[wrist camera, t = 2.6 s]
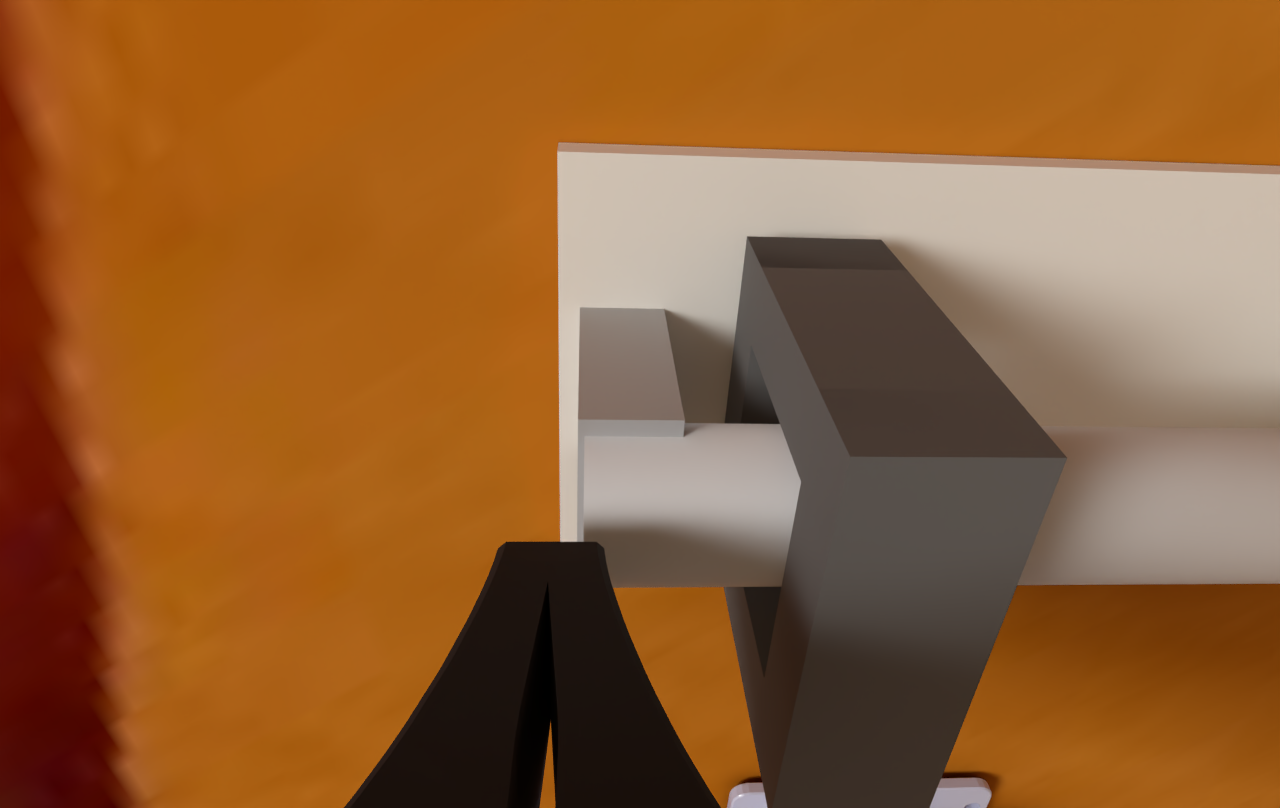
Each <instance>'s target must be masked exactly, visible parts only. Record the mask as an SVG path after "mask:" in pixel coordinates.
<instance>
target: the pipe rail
mask: <svg viewBox="0 0 1280 808" xmlns="http://www.w3.org/2000/svg"><path fill="white" fill-rule="evenodd" d="M747 236H756V237H796V238H836V239H876V240H882V241H883V242H884V243H885V245H886V246H887V247H888V248H889V249H890V250H891V252H892V253H893V254H894V255H895V256H896V257H897V259H898V260H899V261H900V262H901V263H902V265H903V266H904V267H905V268H906V269H907V270H908V272H909V273H910V274H911V275H912V276H913V277H914V279H915V280H916V281H917V282H918V283H919V284H920V286H921V287H922V288H923V289H924V290H925V291H926V293H927V294H928V295H929V296H930V297H931V299H932V300H933V301H934V302H935V303H936V304H937V306H938V307H939V308H940V309H941V310H942V311H943V313H944V314H945V315H946V316H947V317H948V318H949V320H950V321H951V322H952V323H953V324H954V326H955V327H956V328H957V329H958V330H959V331H960V333H961V334H962V335H963V336H964V337H965V338H966V340H967V341H968V342H969V343H970V344H971V345H972V347H973V348H974V349H975V350H976V351H977V352H978V354H979V355H980V356H981V357H982V358H983V360H984V361H985V362H986V363H987V364H988V365H989V367H990V368H991V369H992V370H993V371H994V372H995V374H996V375H997V376H998V377H999V378H1000V379H1001V381H1002V382H1003V383H1004V384H1005V385H1006V386H1007V388H1008V389H1009V390H1010V391H1011V392H1012V394H1013V395H1014V396H1015V397H1016V398H1017V399H1018V401H1019V402H1020V403H1021V404H1022V405H1023V406H1024V408H1025V409H1026V410H1027V411H1028V412H1029V413H1030V415H1031V416H1032V417H1033V418H1034V419H1035V421H1036V422H1037V423H1038V424H1039V425H1040V426H1041V428H1042V429H1043V430H1044V431H1045V432H1046V433H1047V435H1048V436H1049V437H1050V438H1051V439H1052V440H1053V442H1054V443H1055V444H1056V445H1057V446H1058V447H1059V449H1060V450H1061V451H1062V452H1063V453H1064V455H1065V456H1066V457H1067V460H1066V463H1065V465H1064V468H1063V470H1062V473H1061V475H1060V478H1059V480H1058V483H1057V485H1056V488H1055V491H1054V493H1053V496H1052V498H1051V501H1050V503H1049V506H1048V508H1047V511H1046V513H1045V516H1044V518H1043V521H1042V524H1041V526H1040V529H1039V531H1038V534H1037V536H1036V539H1035V541H1034V544H1033V546H1032V549H1031V551H1030V554H1029V557H1028V559H1027V562H1026V564H1025V567H1024V569H1023V572H1022V574H1021V577H1020V579H1019V582H1018V584H1017V585H1126V584H1280V166H1267V165H1236V164H1205V163H1174V162H1144V161H1113V160H1082V159H1052V158H1021V157H990V156H959V155H929V154H898V153H867V152H836V151H806V150H775V149H744V148H714V147H683V146H652V145H621V144H591V143H560V142H559V143H558V289H559V431H560V542H598V543H599V544H600V545H601V546H602V547H603V548H604V549H605V557H606V563H607V567H608V572H609V576H610V580H611V583H612V587H613V588H619V587H781V586H782V581H783V576H784V570H785V565H786V560H787V554H788V549H789V544H790V538H791V533H792V528H793V522H794V517H795V512H796V506H797V501H798V496H799V490H800V485H801V480H800V477H799V475H798V472H797V469H796V466H795V464H794V461H793V458H792V455H791V453H790V450H789V447H788V445H787V442H786V439H785V436H784V434H783V431H782V428H781V425H780V424H725V415H726V407H727V399H728V390H729V382H730V374H731V365H732V357H733V349H734V340H735V332H736V324H737V315H738V307H739V299H740V290H741V282H742V273H743V265H744V257H745V248H746V240H747Z"/></svg>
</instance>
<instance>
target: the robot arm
mask: <svg viewBox="0 0 1280 808" xmlns="http://www.w3.org/2000/svg"><path fill="white" fill-rule="evenodd" d="M550 722H551V730H552V747H553V765H554V783H555V801H556V807H555V808H721V807H720V806H719V804H718V803H717V801H716V799H715V798H714V796H713V795H712V793H711V792H710V790H709V789H708V787H707V785H706V784H705V782H704V780H703V779H702V777H701V775H700V774H699V772H698V770H697V769H696V767H695V765H694V764H693V762H692V760H691V759H690V757H689V755H688V753H687V752H686V750H685V748H684V746H683V745H682V743H681V741H680V739H679V737H678V736H677V734H676V732H675V730H674V728H673V726H672V725H671V723H670V721H669V719H668V717H667V715H666V713H665V711H664V709H663V707H662V705H661V703H660V701H659V699H658V697H657V695H656V693H655V691H654V689H653V687H652V685H651V683H650V681H649V679H648V676H647V674H646V672H645V670H644V668H643V665H642V663H641V661H640V658H639V656H638V654H637V651H636V649H635V647H634V644H633V642H632V640H631V637H630V635H629V633H628V630H627V627H626V625H625V622H624V620H623V617H622V614H621V611H620V608H619V605H618V602H617V600H616V597H615V593H614V590H613V587H612V583H611V580H610V576H609V572H608V567H607V563H606V557H605V549H604V548H603V547H602V546H601V545H600V544H599V543H598V542H506V543H504V544H503V545H502V546H501V547H499V548H498V550H497V553H496V557H495V560H494V562H493V565H492V568H491V570H490V573H489V575H488V577H487V580H486V582H485V584H484V587H483V589H482V591H481V593H480V595H479V597H478V599H477V601H476V603H475V605H474V608H473V610H472V612H471V614H470V616H469V618H468V620H467V622H466V623H465V625H464V627H463V629H462V631H461V632H460V634H459V636H458V638H457V640H456V642H455V643H454V645H453V647H452V649H451V651H450V652H449V654H448V656H447V658H446V660H445V661H444V663H443V665H442V667H441V668H440V670H439V672H438V673H437V675H436V677H435V678H434V680H433V681H432V683H431V684H430V686H429V688H428V689H427V691H426V692H425V694H424V696H423V697H422V699H421V700H420V702H419V703H418V705H417V707H416V708H415V710H414V711H413V713H412V714H411V716H410V718H409V719H408V721H407V722H406V724H405V725H404V727H403V728H402V730H401V731H400V733H399V734H398V736H397V737H396V738H395V740H394V741H393V743H392V744H391V746H390V747H389V749H388V750H387V751H386V753H385V754H384V756H383V757H382V758H381V760H380V761H379V762H378V764H377V765H376V767H375V768H374V769H373V771H372V772H371V773H370V775H369V776H368V777H367V779H366V780H365V781H364V783H363V784H362V785H361V787H360V788H359V789H358V791H357V792H356V793H355V795H354V796H353V797H352V798H351V800H350V801H349V802H348V803H347V805H346V806H345V807H344V808H539V806H540V798H541V791H542V783H543V776H544V768H545V760H546V753H547V745H548V737H549V729H550ZM991 796H992V792H991V790H990V788H989V785H988V783H987V782H986V780H983V779H981V778H975V777H972V778H941V780H940V782H939V785H938V787H937V790H936V793H935V795H934V798H933V800H932V803H931V805H930V808H986V807H987V805H988V803H989V801H990V799H991ZM727 808H767V803H766V798H765V793H764V788H763V783H762V782H756V783H742V784H739V785H737V786H735V787H734V788H733V789H732V790H731V792H730V794H729V800H728V806H727Z"/></svg>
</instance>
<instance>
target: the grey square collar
mask: <svg viewBox="0 0 1280 808" xmlns="http://www.w3.org/2000/svg"><path fill="white" fill-rule="evenodd" d="M725 424H780V425H781V428H782V431H783V434H784V436H785V439H786V442H787V445H788V447H789V450H790V453H791V455H792V458H793V461H794V464H795V466H796V469H797V472H798V475H799V477H800V480H801V485H800V490H799V496H798V501H797V506H796V512H795V517H794V522H793V528H792V533H791V538H790V544H789V549H788V554H787V560H786V565H785V570H784V576H783V581H782V586H781V587H724V590H725V595H726V601H727V606H728V611H729V616H730V621H731V626H732V631H733V636H734V641H735V646H736V651H737V656H738V661H739V666H740V671H741V676H742V682H743V687H744V692H745V697H746V702H747V707H748V712H749V717H750V722H751V727H752V732H753V737H754V742H755V747H756V752H757V757H758V762H759V768H760V773H761V778H762V783H763V788H764V793H765V798H766V803H767V808H930V805H931V803H932V800H933V798H934V795H935V793H936V790H937V787H938V785H939V782H940V780H941V777H942V775H943V772H944V770H945V767H946V765H947V762H948V760H949V757H950V754H951V752H952V749H953V747H954V744H955V742H956V739H957V737H958V734H959V732H960V729H961V727H962V724H963V721H964V719H965V716H966V714H967V711H968V709H969V706H970V704H971V701H972V699H973V696H974V694H975V691H976V689H977V686H978V683H979V681H980V678H981V676H982V673H983V671H984V668H985V666H986V663H987V661H988V658H989V656H990V653H991V650H992V648H993V645H994V643H995V640H996V638H997V635H998V633H999V630H1000V628H1001V625H1002V623H1003V620H1004V617H1005V615H1006V612H1007V610H1008V607H1009V605H1010V602H1011V600H1012V597H1013V595H1014V592H1015V590H1016V587H1017V584H1018V582H1019V579H1020V577H1021V574H1022V572H1023V569H1024V567H1025V564H1026V562H1027V559H1028V557H1029V554H1030V551H1031V549H1032V546H1033V544H1034V541H1035V539H1036V536H1037V534H1038V531H1039V529H1040V526H1041V524H1042V521H1043V518H1044V516H1045V513H1046V511H1047V508H1048V506H1049V503H1050V501H1051V498H1052V496H1053V493H1054V491H1055V488H1056V485H1057V483H1058V480H1059V478H1060V475H1061V473H1062V470H1063V468H1064V465H1065V463H1066V460H1067V457H1066V456H1065V455H1064V453H1063V452H1062V451H1061V450H1060V449H1059V447H1058V446H1057V445H1056V444H1055V443H1054V442H1053V440H1052V439H1051V438H1050V437H1049V436H1048V435H1047V433H1046V432H1045V431H1044V430H1043V429H1042V428H1041V426H1040V425H1039V424H1038V423H1037V422H1036V421H1035V419H1034V418H1033V417H1032V416H1031V415H1030V413H1029V412H1028V411H1027V410H1026V409H1025V408H1024V406H1023V405H1022V404H1021V403H1020V402H1019V401H1018V399H1017V398H1016V397H1015V396H1014V395H1013V394H1012V392H1011V391H1010V390H1009V389H1008V388H1007V386H1006V385H1005V384H1004V383H1003V382H1002V381H1001V379H1000V378H999V377H998V376H997V375H996V374H995V372H994V371H993V370H992V369H991V368H990V367H989V365H988V364H987V363H986V362H985V361H984V360H983V358H982V357H981V356H980V355H979V354H978V352H977V351H976V350H975V349H974V348H973V347H972V345H971V344H970V343H969V342H968V341H967V340H966V338H965V337H964V336H963V335H962V334H961V333H960V331H959V330H958V329H957V328H956V327H955V326H954V324H953V323H952V322H951V321H950V320H949V318H948V317H947V316H946V315H945V314H944V313H943V311H942V310H941V309H940V308H939V307H938V306H937V304H936V303H935V302H934V301H933V300H932V299H931V297H930V296H929V295H928V294H927V293H926V291H925V290H924V289H923V288H922V287H921V286H920V284H919V283H918V282H917V281H916V280H915V279H914V277H913V276H912V275H911V274H910V273H909V272H908V270H907V269H906V268H905V267H904V266H903V265H902V263H901V262H900V261H899V260H898V259H897V257H896V256H895V255H894V254H893V253H892V252H891V250H890V249H889V248H888V247H887V246H886V245H885V243H884V242H883V241H882V240H876V239H836V238H796V237H756V236H747V240H746V248H745V257H744V265H743V273H742V282H741V290H740V299H739V307H738V315H737V324H736V332H735V340H734V349H733V357H732V365H731V374H730V382H729V390H728V399H727V407H726V415H725Z"/></svg>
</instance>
